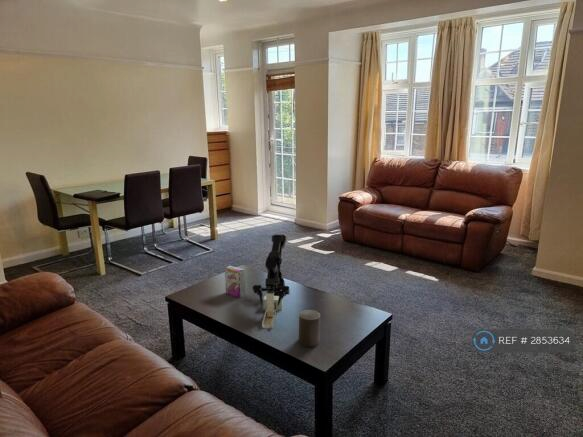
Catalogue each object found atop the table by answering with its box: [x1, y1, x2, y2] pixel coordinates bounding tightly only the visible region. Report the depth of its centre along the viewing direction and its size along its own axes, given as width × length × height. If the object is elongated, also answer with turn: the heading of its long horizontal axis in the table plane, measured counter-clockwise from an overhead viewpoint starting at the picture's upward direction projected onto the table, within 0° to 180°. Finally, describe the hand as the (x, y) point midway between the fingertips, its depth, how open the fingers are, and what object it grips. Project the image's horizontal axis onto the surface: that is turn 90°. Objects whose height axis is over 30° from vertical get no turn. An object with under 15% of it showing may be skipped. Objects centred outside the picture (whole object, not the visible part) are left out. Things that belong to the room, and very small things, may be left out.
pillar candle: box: [298, 309, 321, 348], centre depth 187 cm, size 10×10×15 cm
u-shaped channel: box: [261, 309, 277, 330], centre depth 207 cm, size 14×5×3 cm, turn 175°
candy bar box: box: [224, 265, 246, 298], centre depth 236 cm, size 11×5×16 cm, turn 58°
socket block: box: [262, 295, 284, 311], centre depth 220 cm, size 5×10×6 cm, turn 85°
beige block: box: [265, 291, 276, 317], centre depth 214 cm, size 12×4×13 cm, turn 175°
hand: (269, 305), depth 208 cm, fingers open, 8 cm apart
